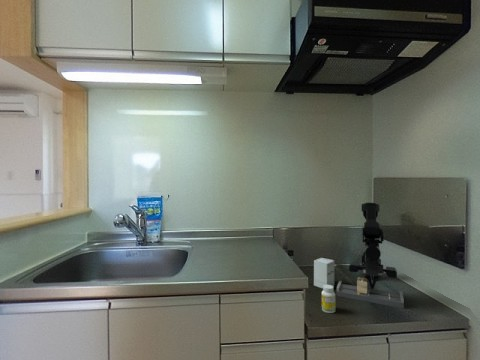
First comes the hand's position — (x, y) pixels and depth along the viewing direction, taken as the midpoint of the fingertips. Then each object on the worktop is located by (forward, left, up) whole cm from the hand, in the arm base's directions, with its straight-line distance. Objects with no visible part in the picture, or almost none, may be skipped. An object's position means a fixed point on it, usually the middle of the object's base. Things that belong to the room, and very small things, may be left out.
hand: (372, 288), depth 117 cm
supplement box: (-4, -21, -4) cm, 22 cm away
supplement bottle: (+20, -15, -4) cm, 26 cm away
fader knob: (0, -4, -2) cm, 4 cm away
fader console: (0, -1, -4) cm, 4 cm away
